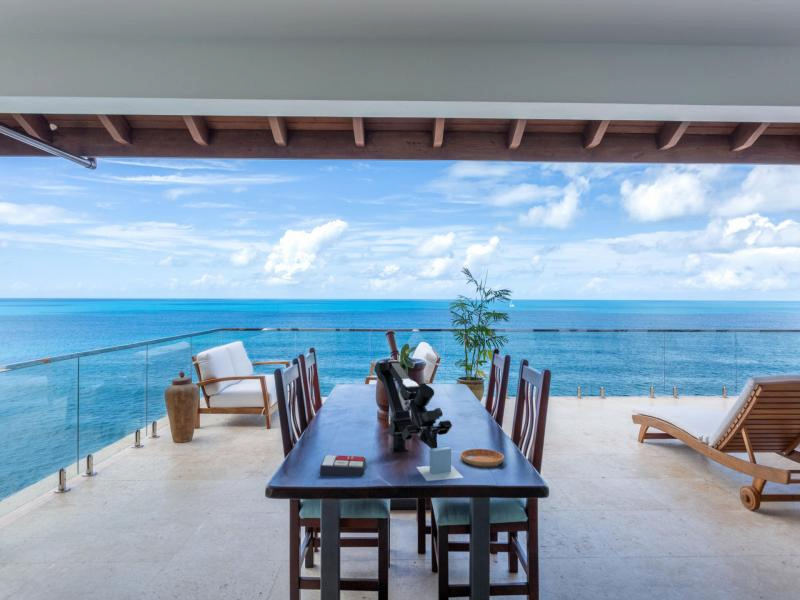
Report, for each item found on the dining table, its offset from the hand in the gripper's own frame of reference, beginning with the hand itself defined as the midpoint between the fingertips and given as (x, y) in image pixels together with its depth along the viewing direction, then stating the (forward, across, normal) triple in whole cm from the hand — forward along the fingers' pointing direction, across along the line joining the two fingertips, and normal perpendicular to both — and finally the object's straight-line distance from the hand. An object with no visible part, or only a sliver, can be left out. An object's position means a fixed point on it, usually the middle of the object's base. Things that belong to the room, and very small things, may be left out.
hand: (436, 450), depth 161 cm
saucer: (+5, +20, +5) cm, 22 cm away
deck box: (+7, 0, +3) cm, 7 cm away
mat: (+7, 0, +3) cm, 8 cm away
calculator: (-6, -29, +17) cm, 34 cm away
